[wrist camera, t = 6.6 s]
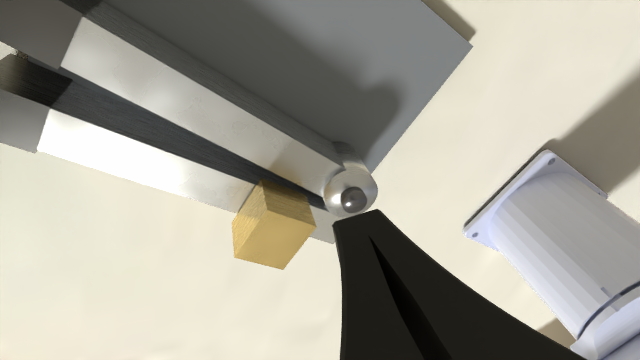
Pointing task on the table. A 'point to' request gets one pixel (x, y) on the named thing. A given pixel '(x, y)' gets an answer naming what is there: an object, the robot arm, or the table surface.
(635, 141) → the table surface
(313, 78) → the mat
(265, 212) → the collar
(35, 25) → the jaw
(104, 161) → the tongs fixed
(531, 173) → the robot arm
